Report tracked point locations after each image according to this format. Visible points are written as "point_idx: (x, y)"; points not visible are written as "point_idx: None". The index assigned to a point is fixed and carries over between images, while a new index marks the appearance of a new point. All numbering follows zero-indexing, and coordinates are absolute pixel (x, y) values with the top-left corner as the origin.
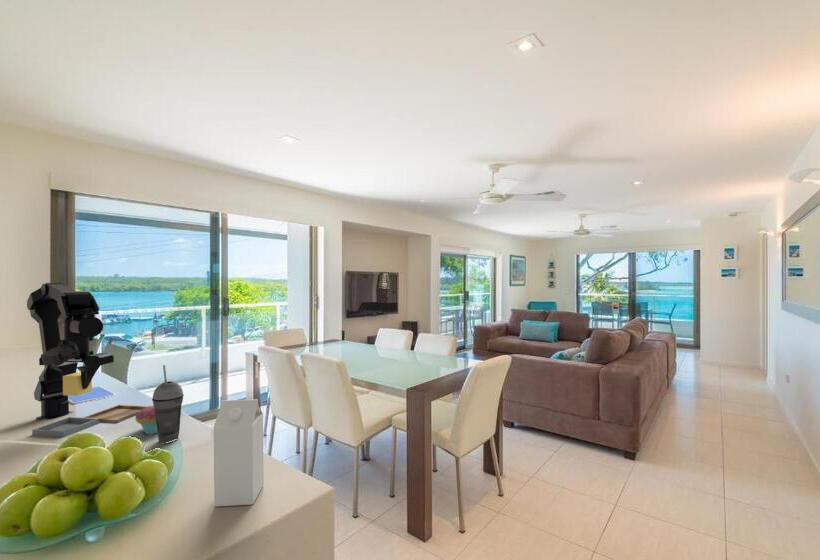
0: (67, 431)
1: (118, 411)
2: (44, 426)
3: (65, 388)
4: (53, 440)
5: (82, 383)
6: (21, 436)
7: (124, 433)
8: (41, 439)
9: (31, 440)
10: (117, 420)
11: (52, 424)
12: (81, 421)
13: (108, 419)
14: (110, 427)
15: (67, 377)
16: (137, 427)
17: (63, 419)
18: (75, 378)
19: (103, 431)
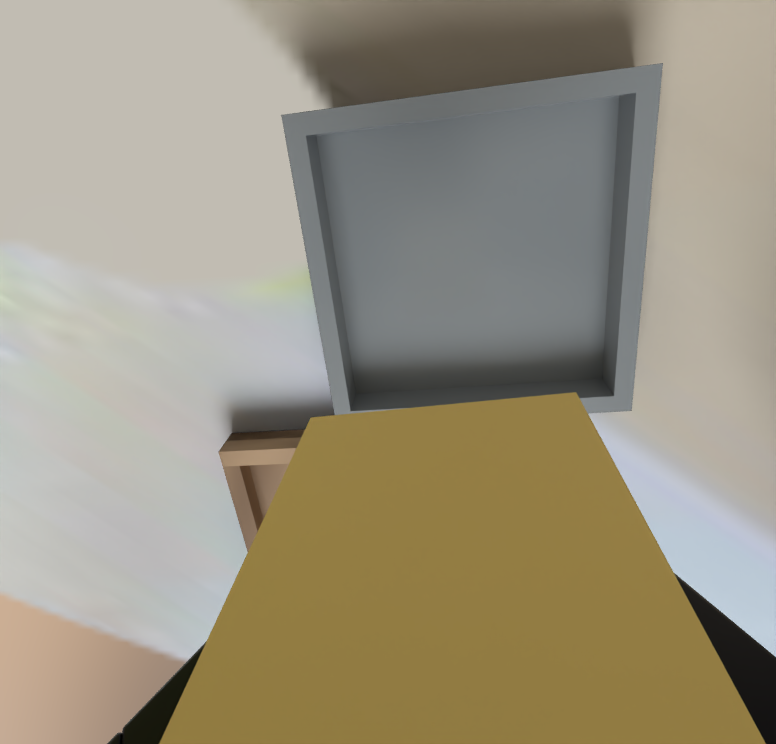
0: (290, 154)
1: None
2: (630, 176)
3: (545, 464)
4: (358, 75)
5: None
6: (770, 57)
7: (15, 326)
8: (490, 59)
9: (560, 11)
10: (221, 449)
11: (622, 250)
12: (484, 390)
13: (295, 448)
14: (226, 388)
15: (531, 710)
16: (59, 422)
17: (624, 352)
18: (229, 686)
19: (189, 321)
